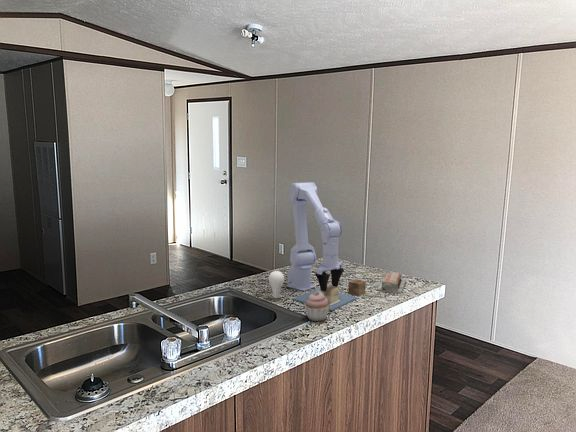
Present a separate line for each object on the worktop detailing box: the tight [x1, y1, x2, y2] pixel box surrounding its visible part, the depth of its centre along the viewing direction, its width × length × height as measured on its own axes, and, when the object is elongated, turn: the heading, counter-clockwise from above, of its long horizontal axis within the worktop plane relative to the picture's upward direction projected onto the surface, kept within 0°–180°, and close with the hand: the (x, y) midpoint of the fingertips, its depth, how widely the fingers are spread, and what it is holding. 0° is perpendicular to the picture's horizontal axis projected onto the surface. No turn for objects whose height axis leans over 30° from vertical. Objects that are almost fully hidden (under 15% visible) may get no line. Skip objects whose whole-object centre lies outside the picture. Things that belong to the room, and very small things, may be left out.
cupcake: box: [303, 291, 331, 322], centre depth 166 cm, size 9×9×10 cm
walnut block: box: [347, 278, 367, 297], centre depth 194 cm, size 5×5×5 cm
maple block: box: [320, 285, 340, 304], centre depth 182 cm, size 5×5×5 cm
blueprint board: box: [292, 287, 359, 312], centre depth 186 cm, size 18×18×1 cm
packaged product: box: [377, 271, 407, 294], centre depth 204 cm, size 18×5×10 cm
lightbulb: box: [268, 270, 285, 300], centre depth 186 cm, size 6×6×11 cm
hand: (329, 288), depth 182 cm, fingers open, 7 cm apart
